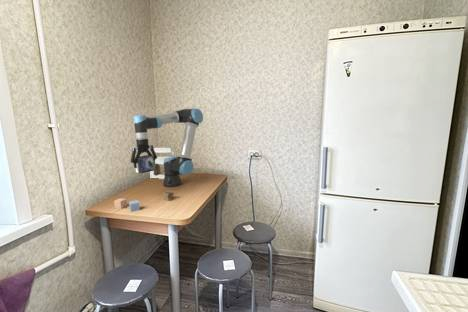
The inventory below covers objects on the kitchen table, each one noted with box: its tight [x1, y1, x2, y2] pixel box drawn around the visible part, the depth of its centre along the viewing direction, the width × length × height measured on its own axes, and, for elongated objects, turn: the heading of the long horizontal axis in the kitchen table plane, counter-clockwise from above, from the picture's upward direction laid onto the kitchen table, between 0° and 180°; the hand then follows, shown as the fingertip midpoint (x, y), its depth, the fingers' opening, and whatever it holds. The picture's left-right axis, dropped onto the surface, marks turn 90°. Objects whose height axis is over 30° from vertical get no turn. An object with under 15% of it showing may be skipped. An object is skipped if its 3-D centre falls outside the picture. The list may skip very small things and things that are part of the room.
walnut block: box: [162, 191, 175, 202], centre depth 170 cm, size 5×5×5 cm
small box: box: [137, 154, 154, 174], centre depth 167 cm, size 11×6×10 cm, turn 140°
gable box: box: [149, 147, 177, 180], centre depth 229 cm, size 22×13×28 cm, turn 81°
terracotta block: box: [113, 198, 128, 210], centre depth 157 cm, size 5×5×5 cm
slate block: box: [128, 199, 140, 212], centre depth 153 cm, size 5×5×5 cm
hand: (145, 170), depth 168 cm, fingers closed on small box, 11 cm apart
